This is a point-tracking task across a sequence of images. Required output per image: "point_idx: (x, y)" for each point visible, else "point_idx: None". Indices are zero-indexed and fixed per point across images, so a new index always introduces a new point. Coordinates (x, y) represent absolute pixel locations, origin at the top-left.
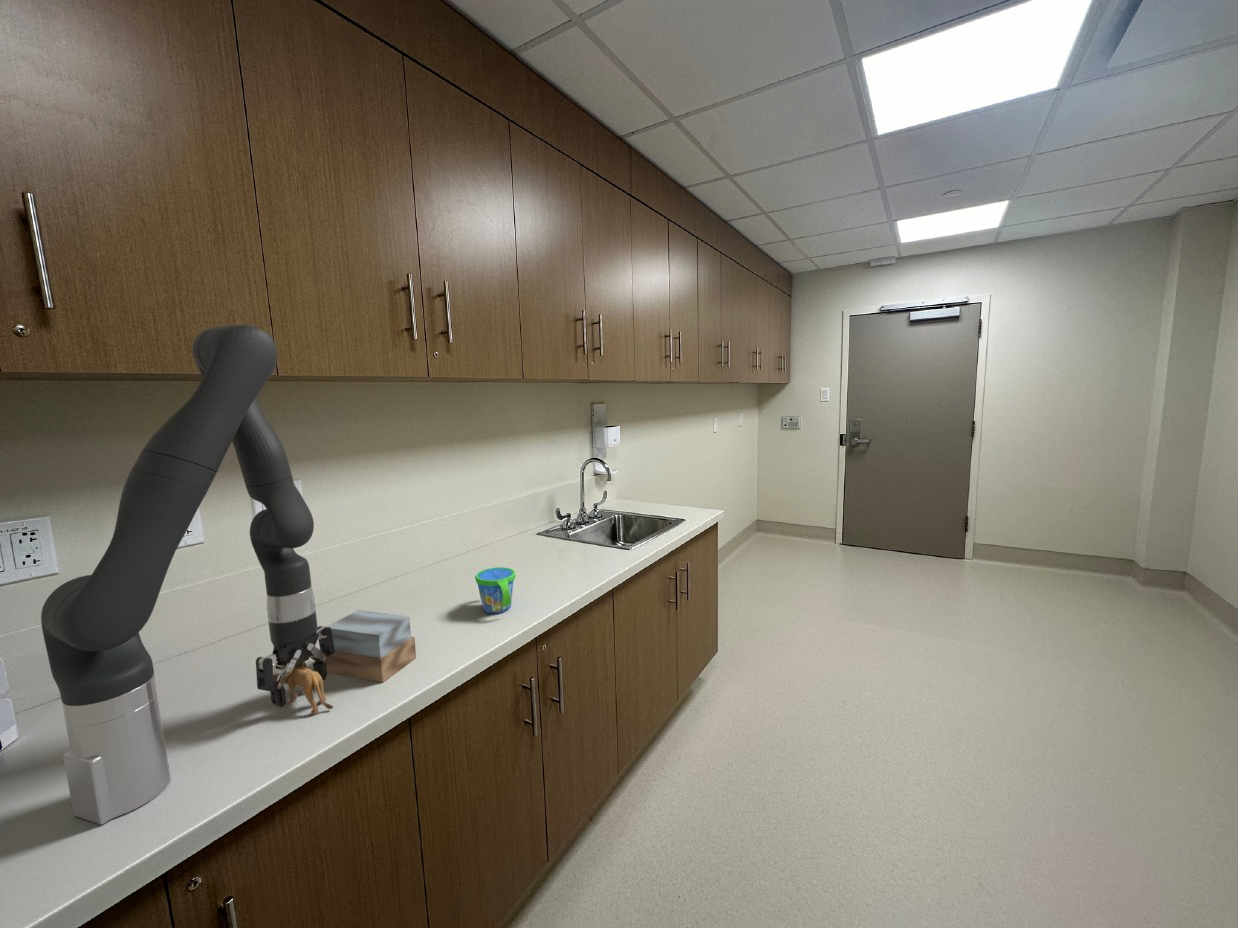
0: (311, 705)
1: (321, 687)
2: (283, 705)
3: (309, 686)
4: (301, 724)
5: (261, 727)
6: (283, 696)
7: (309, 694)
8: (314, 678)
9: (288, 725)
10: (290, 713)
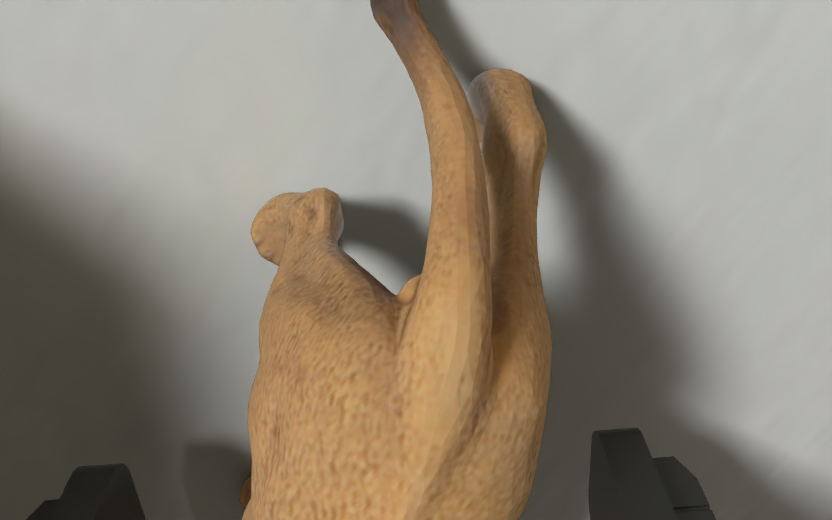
0: (543, 149)
1: (333, 261)
2: (630, 429)
3: (536, 342)
4: (699, 60)
5: (793, 378)
6: (653, 507)
7: (538, 262)
8: (447, 398)
9: (735, 180)
10: (563, 335)
